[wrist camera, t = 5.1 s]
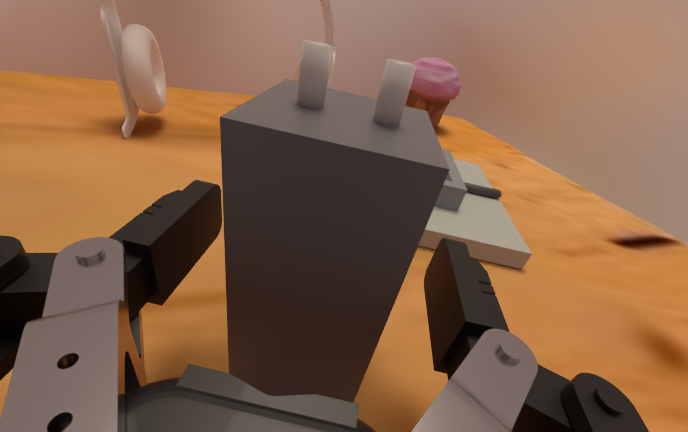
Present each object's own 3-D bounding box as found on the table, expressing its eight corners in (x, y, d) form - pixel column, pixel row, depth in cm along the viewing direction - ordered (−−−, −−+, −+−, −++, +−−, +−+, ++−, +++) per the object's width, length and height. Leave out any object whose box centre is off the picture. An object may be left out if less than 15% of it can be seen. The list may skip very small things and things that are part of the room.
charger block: (229, 396, 12) (217, 35, 5) (268, 304, 16) (290, 28, 9) (344, 422, 12) (480, 95, 5) (355, 325, 16) (442, 63, 9)
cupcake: (404, 132, 45) (427, 57, 40) (382, 113, 52) (398, 47, 46) (454, 136, 48) (481, 67, 43) (427, 118, 55) (447, 56, 49)
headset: (316, 129, 40) (341, -50, 30) (329, 152, 34) (364, -58, 24) (134, 113, 33) (89, -123, 23) (113, 138, 28) (44, -156, 18)
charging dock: (281, 214, 23) (285, 171, 21) (322, 141, 36) (326, 111, 34) (521, 269, 23) (547, 231, 21) (472, 176, 36) (485, 148, 34)
